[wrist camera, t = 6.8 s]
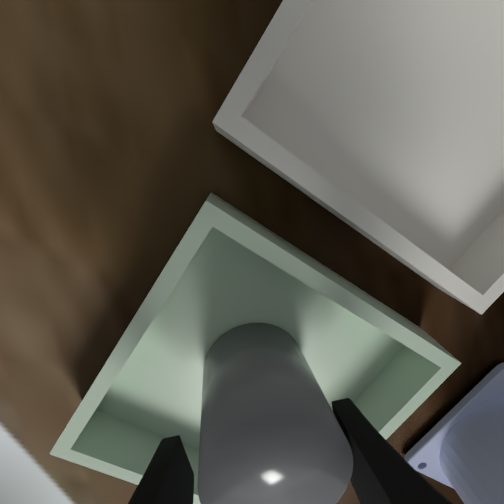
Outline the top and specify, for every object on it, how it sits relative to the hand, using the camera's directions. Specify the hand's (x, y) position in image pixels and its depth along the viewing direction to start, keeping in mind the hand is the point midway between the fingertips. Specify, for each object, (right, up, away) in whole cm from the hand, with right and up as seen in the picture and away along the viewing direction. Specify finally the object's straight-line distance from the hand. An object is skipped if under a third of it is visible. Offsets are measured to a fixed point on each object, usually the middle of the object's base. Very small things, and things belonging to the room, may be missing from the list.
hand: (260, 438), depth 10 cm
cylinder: (0, +1, +3) cm, 3 cm away
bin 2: (0, +1, +4) cm, 4 cm away
